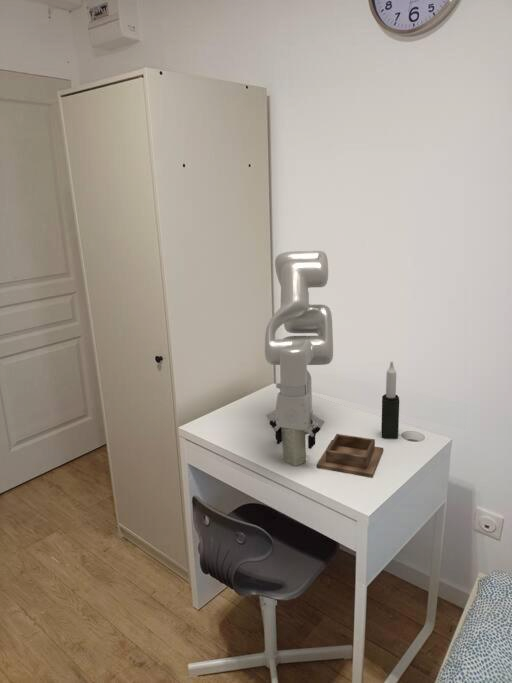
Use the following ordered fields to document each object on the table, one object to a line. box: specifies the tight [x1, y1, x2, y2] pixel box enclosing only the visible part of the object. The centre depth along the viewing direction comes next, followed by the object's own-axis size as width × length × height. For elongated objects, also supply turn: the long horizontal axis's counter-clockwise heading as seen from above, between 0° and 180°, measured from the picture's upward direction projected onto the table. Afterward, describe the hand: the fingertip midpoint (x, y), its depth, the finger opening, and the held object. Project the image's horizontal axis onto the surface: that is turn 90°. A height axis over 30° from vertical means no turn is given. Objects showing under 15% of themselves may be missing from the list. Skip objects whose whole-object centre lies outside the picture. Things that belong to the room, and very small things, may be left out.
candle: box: [380, 360, 400, 440], centre depth 158 cm, size 5×5×25 cm
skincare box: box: [281, 428, 307, 467], centre depth 147 cm, size 6×4×12 cm
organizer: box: [316, 433, 384, 478], centre depth 147 cm, size 16×16×4 cm
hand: (295, 444), depth 146 cm, fingers open, 9 cm apart
